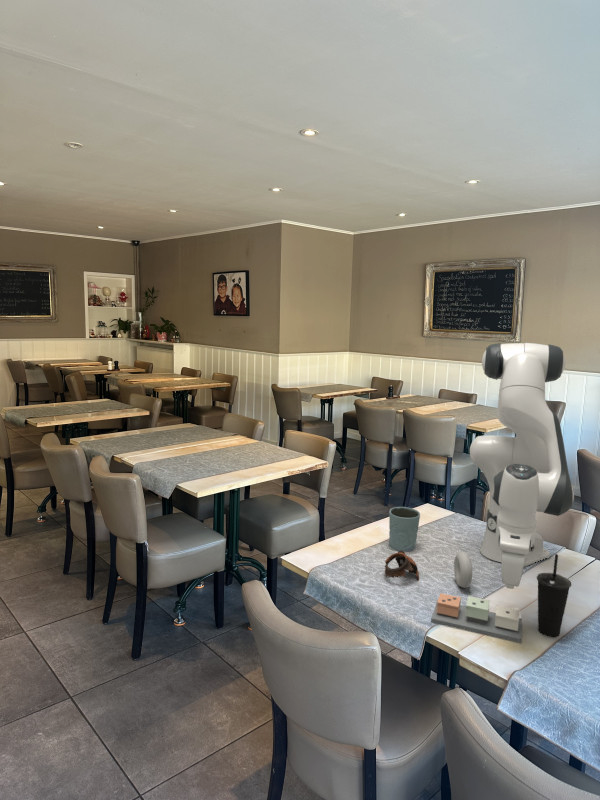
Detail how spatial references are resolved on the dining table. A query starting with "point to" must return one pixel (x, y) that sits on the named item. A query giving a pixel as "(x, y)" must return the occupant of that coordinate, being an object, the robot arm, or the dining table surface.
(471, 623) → the board
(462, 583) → the donut
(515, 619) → the cream tile
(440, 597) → the terracotta tile
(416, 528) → the green cylindrical pot
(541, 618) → the drinking cup
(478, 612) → the sage tile
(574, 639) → the dining table surface
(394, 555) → the brown rounded piece
